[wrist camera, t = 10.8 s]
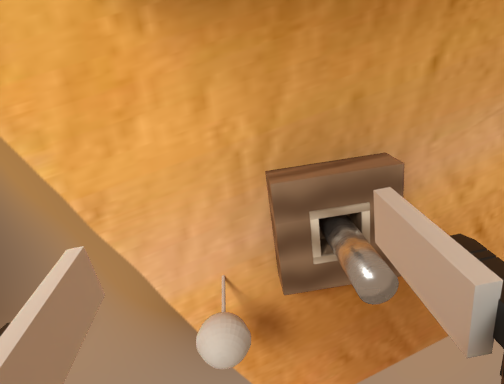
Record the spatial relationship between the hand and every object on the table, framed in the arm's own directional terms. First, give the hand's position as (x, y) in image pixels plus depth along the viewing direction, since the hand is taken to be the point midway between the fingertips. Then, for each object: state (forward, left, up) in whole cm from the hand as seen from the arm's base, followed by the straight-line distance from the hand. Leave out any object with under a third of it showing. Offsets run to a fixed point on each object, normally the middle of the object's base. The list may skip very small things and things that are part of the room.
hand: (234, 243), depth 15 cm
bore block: (+14, +12, -29) cm, 34 cm away
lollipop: (+21, -4, -29) cm, 36 cm away
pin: (+14, +12, -28) cm, 33 cm away
